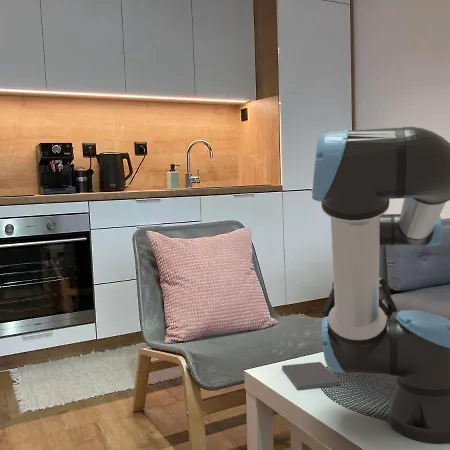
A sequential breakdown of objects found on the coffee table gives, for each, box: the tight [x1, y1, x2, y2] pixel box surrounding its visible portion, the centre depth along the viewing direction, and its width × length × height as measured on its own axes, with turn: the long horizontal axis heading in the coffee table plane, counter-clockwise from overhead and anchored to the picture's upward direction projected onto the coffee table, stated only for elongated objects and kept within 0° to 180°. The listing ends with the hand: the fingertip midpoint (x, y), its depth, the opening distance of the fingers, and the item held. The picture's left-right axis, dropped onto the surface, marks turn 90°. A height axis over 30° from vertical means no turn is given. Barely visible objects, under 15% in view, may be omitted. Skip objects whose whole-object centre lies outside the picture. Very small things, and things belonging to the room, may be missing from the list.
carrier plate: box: [281, 361, 341, 391], centre depth 133 cm, size 14×11×1 cm
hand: (359, 340), depth 135 cm, fingers open, 13 cm apart
